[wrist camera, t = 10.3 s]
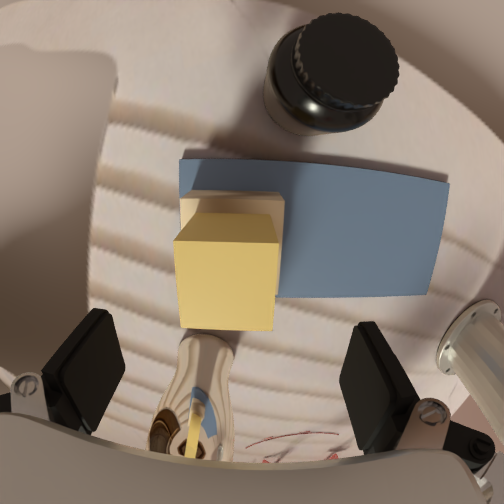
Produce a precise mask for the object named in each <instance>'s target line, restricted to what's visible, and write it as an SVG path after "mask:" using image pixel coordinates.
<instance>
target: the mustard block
mask: <svg viewBox="0 0 504 504" xmlns="http://www.w3.org/2000/svg"><path fill="white" fill-rule="evenodd" d="M173 244H174V259H175V273H176V284H177V295H178V305H179V314H180V323H181V328H196V329H214V330H241V331H272V328H273V317H274V305H275V292H276V280H277V266H278V252H279V242H278V238H277V235H276V232H275V229H274V226H273V222H272V219H271V216H270V214H239V213H195V214H194V215H193V216H192V218H191V219H190V220H189V221H188V223H187V224H186V225H185V226H184V228H183V229H182V230H181V232H180V233H179V234H178V235H177V237H176V238H175V239H174V241H173Z"/></svg>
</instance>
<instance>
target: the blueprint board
mask: <svg viewBox="0 0 504 504" xmlns="http://www.w3.org/2000/svg"><path fill="white" fill-rule="evenodd" d="M449 186H450V184H449V183H445V182H440V181H436V180H431V179H425V178H420V177H415V176H409V175H403V174H397V173H391V172H384V171H378V170H370V169H363V168H355V167H347V166H338V165H328V164H317V163H305V162H292V161H275V160H252V159H180V160H179V194H180V198H181V197H183V196H184V195H185V194H187V193H188V192H189V191H191V190H236V191H267V192H279V193H280V195H281V196H282V198H283V199H284V201H285V206H284V222H283V236H282V250H281V263H280V275H279V287H278V295H275V297H286V298H338V297H385V296H411V295H426V294H427V291H428V287H429V284H430V280H431V277H432V273H433V269H434V266H435V262H436V257H437V253H438V249H439V244H440V240H441V235H442V230H443V225H444V219H445V214H446V207H447V201H448V194H449ZM180 230H181V220H180Z"/></svg>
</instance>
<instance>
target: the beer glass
mask: <svg viewBox="0 0 504 504" xmlns="http://www.w3.org/2000/svg"><path fill="white" fill-rule="evenodd" d="M233 360H234V355H233V351H232V349H231V347H230V346H229V345H228V344H227V343H226V342H225V341H224V340H222V339H221V338H219V337H216V336H214V335H210V334H194V335H191V336H189V337H187V338H185V339H184V340H183V341H182V342H181V344H180V345H179V348H178V356H177V368H176V372H175V374H174V376H173V378H172V380H171V382H170V384H169V385H168V387H167V389H166V391H165V392H164V394H163V396H162V398H161V399H160V401H159V404H158V406H157V408H156V410H155V412H154V415H153V418H152V421H151V424H150V428H149V432H148V437H147V442H146V448H145V450H147V451H152V452H157V453H162V454H168V455H174V456H180V457H187V458H195V459H203V460H213V461H226V462H232V461H233V454H234V441H235V431H234V418H233V411H232V405H231V400H230V394H229V387H228V378H229V373H230V370H231V368H232V365H233Z"/></svg>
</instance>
